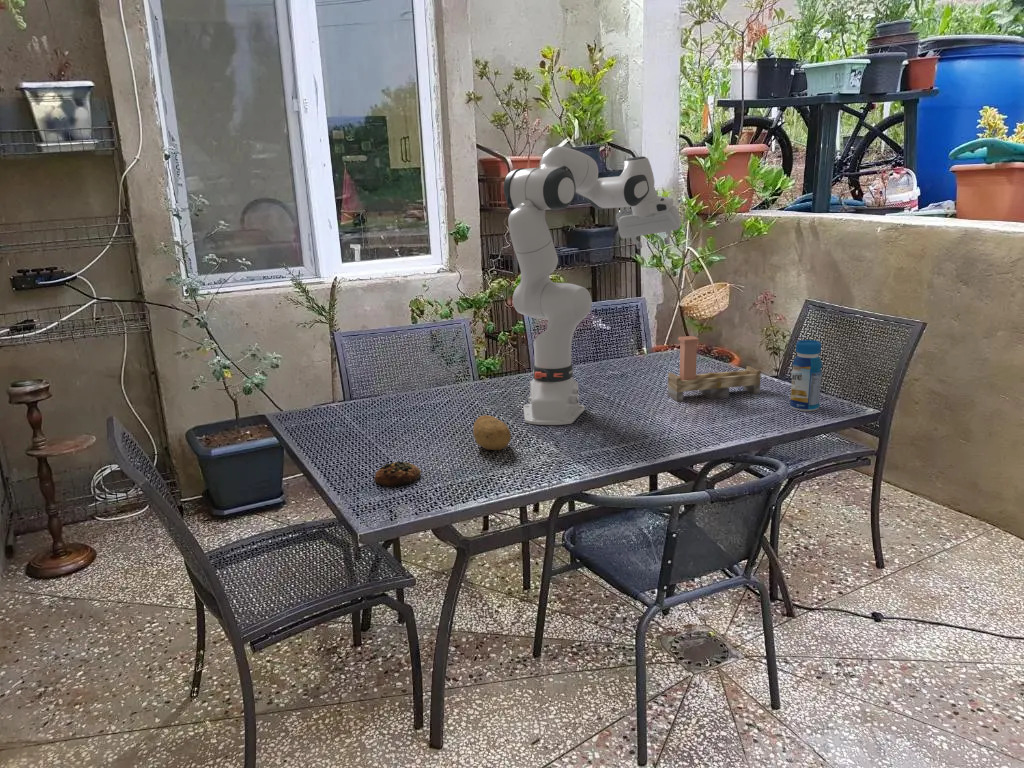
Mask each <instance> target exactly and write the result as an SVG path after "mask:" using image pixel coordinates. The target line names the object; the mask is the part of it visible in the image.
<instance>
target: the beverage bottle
mask: <svg viewBox="0 0 1024 768" xmlns="http://www.w3.org/2000/svg"><path fill="white" fill-rule="evenodd" d="M821 352H822V343H821V342H820V341H819V340H816V339H801V340H797V341H796V346H795V353H796V354H797V355H796V356H795V358H794V359H793V361H792V364H791V366H792V370H791V374H790V376H791V385H790V389H791V390H790V401H789V406H790V409H792V410H796V411H798V410H799V412H814V411H817V410H819V409H820V396H821V395H820V394H821V384H822V383H821V382H822V378H823V372H822V368H823V362H822V360H821V358H820V356H819V355H820V354H821Z"/></svg>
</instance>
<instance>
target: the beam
mask: <svg viewBox="0 0 1024 768" xmlns="http://www.w3.org/2000/svg"><path fill="white" fill-rule="evenodd" d="M761 375H762V371H761V370H759V369H757V368H755V367H753V366H751V365H746V369H743V370H742V369H741V370H733V371H719V372H708V373H699V374H697V373H696V379H692V380H681V378H680V377H679V375H677V374H675V373H673V372H668V377H667V378H668V379H667V396H669V397H670V398H671V399H672V398H673V400H674V401H675V402H683V401H684V398H683V397H684V392H691V391H692V392H693V391H694V392H695V391H698V392H699V393H700V394H702V395H704V396H705V397H707V398H709V399H710V400H716V399H726V398H730V388H736V387H737V388H738V387H742V388H743V390H745V391H747V392H749V393H751V394H752V395H758V393H761V378H762V377H761Z"/></svg>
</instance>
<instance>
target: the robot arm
mask: <svg viewBox="0 0 1024 768" xmlns="http://www.w3.org/2000/svg"><path fill="white" fill-rule="evenodd" d="M598 167H599V166H598V164H597V162H596V160H595V159H594V158H593V157H591V156H590V155H588V154H586V153H584V152H581V151H579V150H577V149H573V148H570V147H567V146H566V147H565V146H557V145H556V146H553V147H550V148H549V149H546V151H545V152H544V153H543V155H542V157H541V160H540V167H530V168H524V167H523V168H516V169H513V170H511V171H510V172H508V174H507V175H506V177H505V179H504V183H503V193H504V198H505V201H506V204H507V207H508V208H509V210H510V213H509V215H508V222H507V224H508V230H509V235H510V240H511V244H512V247H513V250H514V253H515V256H516V259H517V263H518V266H519V270H520V281H519V284H518V285H517V286H516V287H515V289H514V291H513V294H512V305H513V307H514V309H515V311H516V312H517V313H518V314H521V315H523V316H525V317H529V318H534V319H542V320H547V327H546V329H545V331H543V332H541V333H540V334H538V335H537V336H536V337H535V339H534V342H533V348H534V349H533V350H534V353H533V354H534V355H533V356H534V357H533V358H534V364H533V366H532V378H533V379H532V380H530V381H529V396H528V398H527V401H528V402H529V403H528V404H527V403H526V404H523V407H522V408H523V416H524V417H523V418H524V422H525V423H526V424H531V425H539V426H562V425H570V424H573V423H574V422H575V421H576V420H577V419H578V418H579V417H580V415H581V414H582V413H583V412H584V411H585V410H586V408H585V407H586V406H584V405H583V404H580V401H579V400H580V399H579V383H578V382H577V381H576V380H575V379H574V377H573V376H574V367H573V366H574V365H573V363H572V345H573V344H572V342H573V337H574V333H575V331H576V329H577V326H578V325H579V324H580V323H581V321H583V320H585V319H586V317H587V316H588V315H589V314H590V312H591V309H592V305H593V303H592V302H593V300H592V296H591V294H590V292H589V290H588V289H587V288H586V287H583V286H581V285H579V284H578V285H577V284H574V283H569V282H568V283H567V282H555V281H552V280H551V278H550V275H551V274H552V273H554V271H555V270H556V269H557V267H558V263H559V257H558V254H557V250H556V248H555V244H554V241H553V237H552V235H551V231H550V229H549V226H548V223H547V221H546V211H549V210H553V211H559V210H564V209H567V208H568V207H570V206H571V204H572V203H573V202H574V198H575V196H576V195H578V196H579V197H582V198H584V199H585V200H586V201H587V202H588V203H589V204H590V205H591V207H593V208H594V209H596V210H598V211H599V210H606V209H617V208H619V209H621V208H625V209H621V210H618V212H617V213H616V214H615V219H616V223H617V224H618V232H619V237H620V238H621V239H628V238H629V239H631V241H632V242H633V244H634V245H636V249H637V250H639V249H642V248H643V244H642V241H639V240H638V239H637V238H638V237H640V236H641V237H642V236H646V235H653V234H659V233H666V236H667V237H665V238H664V239H663V242H664V245H670V244H671V240H670V238H671V235H672V232H673V231H679V230H680V228H681V226H682V220H681V217H680V213H679V210H678V209H677V207H676V206H675V205H674V199H673V198H672V197H669V196H661V195H660V196H659V195H658V193H657V189H655V188H656V187H655V176H654V172H653V168H652V165H651V163H650V160H649V159H648V157H646V156H633V157H629V158H626V159H625V160H624V161H623V170H622V172H621V174H620V175H619V176H617V175H616V176H609V177H605V176H603V177H601V176H600V177H599V168H598ZM626 208H627V209H626Z"/></svg>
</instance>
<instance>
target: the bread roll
mask: <svg viewBox="0 0 1024 768" xmlns="http://www.w3.org/2000/svg"><path fill="white" fill-rule="evenodd" d="M421 473H422V470H421V469H420V467H417V465H415V464H413V463H410V462H407V461H406V462H404V461H395V462H390V463H385V464H383V465H382V466H381V467H380V468H379V470H377V471H376V473H375V475H374V478H373V479H374V481H375V483H376V484H379V485H380V486H383V487H389V488H393V487H394V488H396V487H398V488H399V487H400V488H401V487H404V486H408V485H410V484H413V483H415V482H416V481H417V480H418V478H420V476H421Z"/></svg>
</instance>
